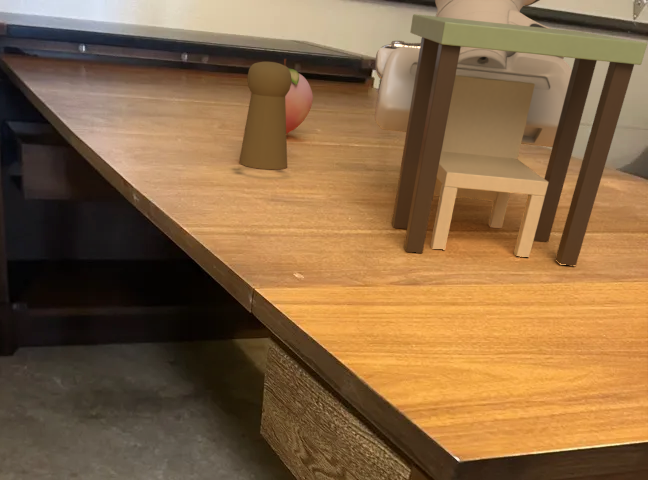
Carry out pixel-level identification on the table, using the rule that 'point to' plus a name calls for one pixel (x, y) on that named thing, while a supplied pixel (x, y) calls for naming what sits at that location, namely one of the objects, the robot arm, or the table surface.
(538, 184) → the chair
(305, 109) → the decorative fruit
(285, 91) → the cork
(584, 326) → the table surface
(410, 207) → the side table
